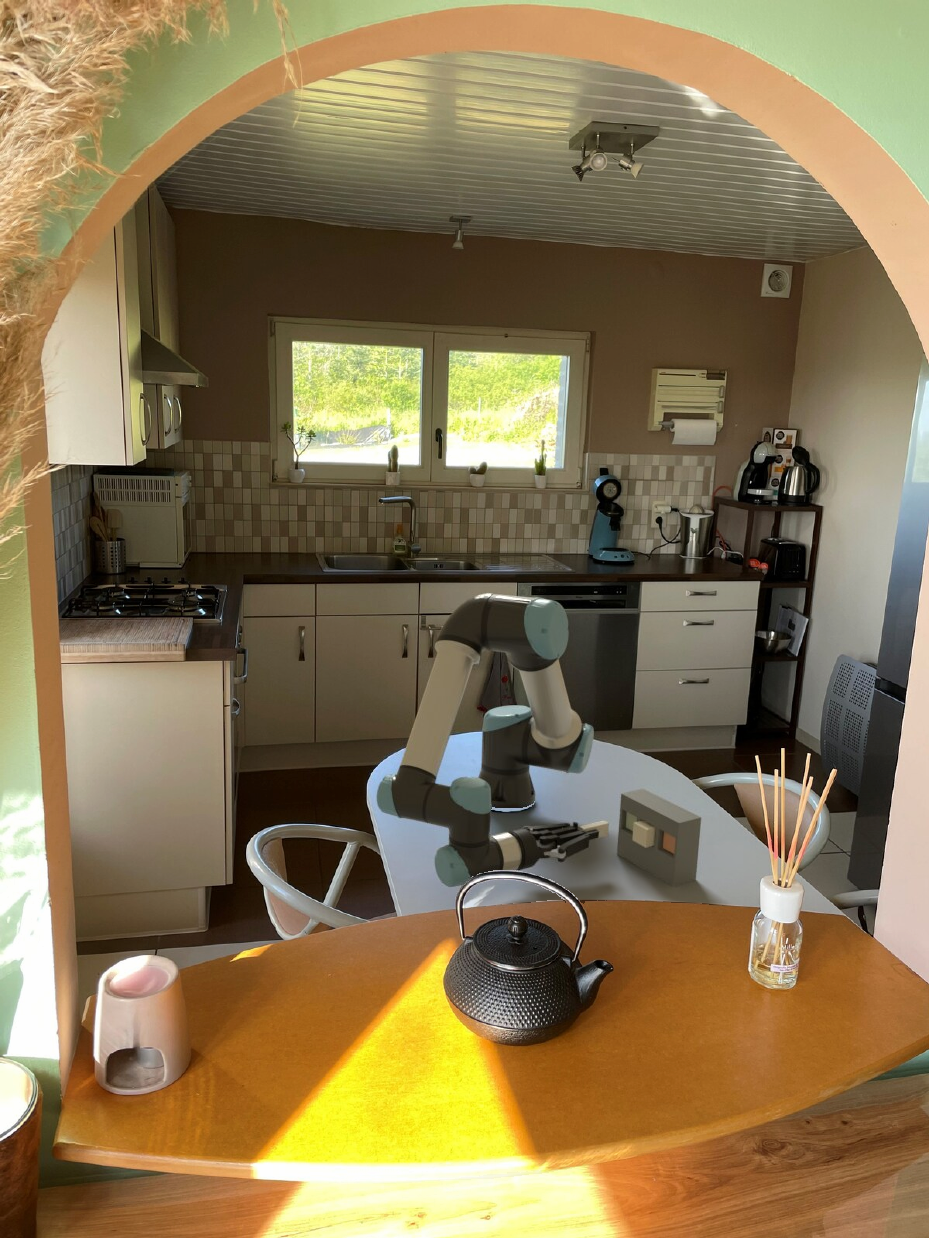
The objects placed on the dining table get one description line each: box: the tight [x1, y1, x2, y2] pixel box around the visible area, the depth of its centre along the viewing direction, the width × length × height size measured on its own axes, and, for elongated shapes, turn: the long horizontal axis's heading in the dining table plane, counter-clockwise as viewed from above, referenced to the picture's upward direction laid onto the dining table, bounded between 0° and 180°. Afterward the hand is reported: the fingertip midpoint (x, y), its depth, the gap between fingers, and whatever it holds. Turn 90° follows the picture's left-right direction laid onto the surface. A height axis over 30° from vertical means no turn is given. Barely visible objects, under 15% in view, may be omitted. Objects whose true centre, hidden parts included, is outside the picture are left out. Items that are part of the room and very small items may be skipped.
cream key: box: [632, 820, 656, 848], centre depth 189 cm, size 4×4×4 cm
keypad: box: [616, 788, 702, 887], centre depth 191 cm, size 17×6×14 cm, turn 31°
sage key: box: [626, 812, 637, 831], centre depth 195 cm, size 4×4×4 cm
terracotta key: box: [663, 832, 675, 854], centre depth 186 cm, size 4×4×4 cm
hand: (606, 827), depth 190 cm, fingers closed
